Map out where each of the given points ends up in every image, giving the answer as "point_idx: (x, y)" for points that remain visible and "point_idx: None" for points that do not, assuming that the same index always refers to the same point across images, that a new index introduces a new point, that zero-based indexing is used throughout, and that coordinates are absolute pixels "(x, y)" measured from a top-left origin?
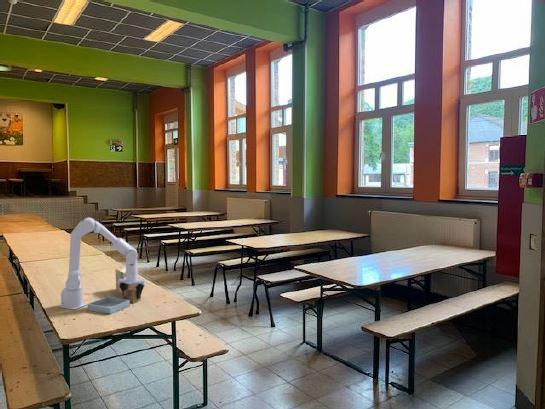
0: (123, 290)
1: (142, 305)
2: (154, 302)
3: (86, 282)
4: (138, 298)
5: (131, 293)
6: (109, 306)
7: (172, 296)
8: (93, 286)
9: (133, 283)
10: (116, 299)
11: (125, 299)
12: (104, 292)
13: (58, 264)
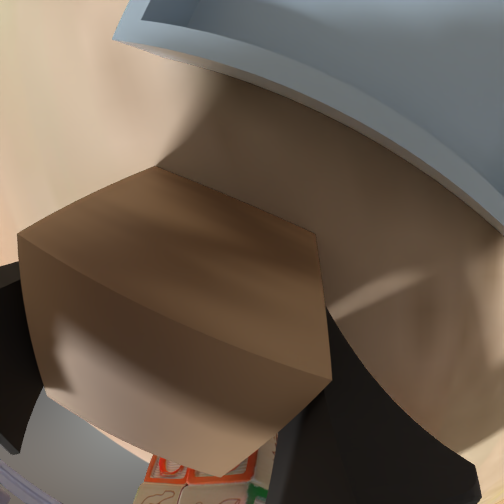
0: (342, 392)
1: (42, 116)
2: (4, 221)
3: (493, 475)
4: None
5: (82, 233)
6: (445, 7)
7: None
8: (489, 464)
9: (21, 498)
10: (431, 141)
11: (207, 52)
12: (475, 435)
13: (495, 500)
